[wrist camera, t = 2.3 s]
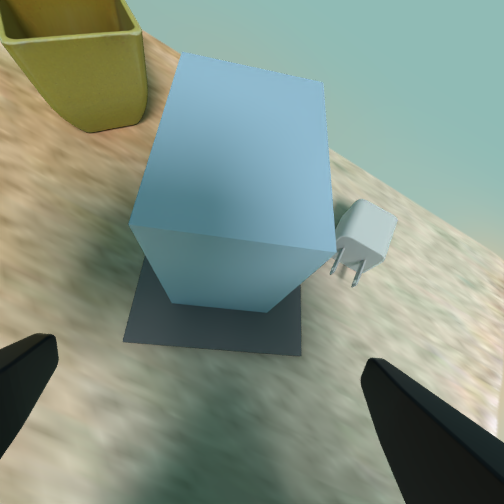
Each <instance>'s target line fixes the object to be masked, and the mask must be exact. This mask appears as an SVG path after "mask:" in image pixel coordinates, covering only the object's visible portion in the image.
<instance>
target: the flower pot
mask: <svg viewBox="0 0 504 504" xmlns="http://www.w3.org/2000/svg"><path fill="white" fill-rule="evenodd" d="M0 41H1V43H2V44H3V46H4V47H5V48H6V50H7V51H8V52H9V54H10V55H11V56H12V58H13V59H14V60H15V62H16V63H17V64H18V66H19V67H20V68H21V70H22V71H23V72H24V73H25V75H26V76H27V77H28V79H29V80H30V81H31V83H32V84H33V85H34V86H35V88H36V89H37V90H38V92H39V93H40V94H41V96H42V97H43V98H44V99H45V101H46V102H47V103H48V104H49V105H50V107H51V108H52V109H53V110H54V111H56V112H57V113H58V114H59V115H60V116H61V117H62V118H64V119H65V120H66V121H68V122H69V123H70V124H72V125H74V126H75V127H77V128H79V129H81V130H83V131H85V132H89V133H91V132H97V131H102V130H107V129H112V128H118V127H123V126H129V125H134V124H137V123H138V122H139V121H140V119H141V117H142V116H143V113H144V111H145V108H146V104H147V97H148V87H147V76H146V65H145V56H144V46H143V37H142V29H141V27H140V25H139V24H138V22H137V20H136V18H135V17H134V15H133V13H132V12H131V10H130V8H129V7H128V5H127V3H126V1H125V0H0Z"/></svg>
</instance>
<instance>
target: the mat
mask: <svg viewBox="0 0 504 504" xmlns="http://www.w3.org/2000/svg"><path fill="white" fill-rule="evenodd" d="M122 342H129V343H141V344H153V345H166V346H178V347H191V348H203V349H215V350H228V351H240V352H252V353H265V354H277V355H290V356H301V290H300V285H299V286H297V287H296V288H295V289H294V290H293V291H292V292H290V293H289V294H288V295H287V296H286V297H285V298H284V299H282V300H281V301H280V302H279V303H278V304H277V305H275V306H274V307H273V308H272V309H271V310H270V311H268V312H267V313H264V312H254V311H244V310H234V309H224V308H214V307H205V306H195V305H185V304H175V303H172V302H171V301H170V299H169V297H168V295H167V293H166V292H165V290H164V288H163V286H162V284H161V283H160V281H159V279H158V277H157V275H156V274H155V272H154V270H153V268H152V266H151V265H150V263H149V261H148V259H147V257H146V256H145V258H144V262H143V266H142V269H141V273H140V277H139V281H138V285H137V288H136V292H135V296H134V300H133V303H132V307H131V311H130V315H129V319H128V322H127V326H126V330H125V334H124V338H123V341H122Z"/></svg>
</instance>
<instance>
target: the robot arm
mask: <svg viewBox="0 0 504 504" xmlns="http://www.w3.org/2000/svg"><path fill="white" fill-rule="evenodd" d="M58 360H59V357H58V349H57V342H56V337H55V336H54V335H52V334H43V333H36V334H33V335H31V336H29V337H26V338H24V339H22V340H20V341H18V342H15V343H13V344H11V345H9V346H6V347H4V348H2V349H0V459H1V457H2V456H3V454H4V453H5V452H6V450H7V449H8V447H9V446H10V444H11V443H12V441H13V440H14V438H15V437H16V435H17V434H18V432H19V431H20V429H21V428H22V426H23V425H24V423H25V421H26V420H27V418H28V416H29V415H30V413H31V411H32V409H33V408H34V406H35V404H36V402H37V401H38V399H39V397H40V395H41V394H42V392H43V390H44V388H45V387H46V385H47V383H48V381H49V380H50V378H51V376H52V374H53V373H54V371H55V369H56V367H57V365H58ZM361 387H362V390H363V393H364V396H365V399H366V402H367V405H368V408H369V411H370V414H371V418H372V421H373V424H374V427H375V430H376V433H377V436H378V438H379V441H380V444H381V446H382V449H383V451H384V453H385V456H386V458H387V461H388V463H389V465H390V468H391V470H392V472H393V475H394V477H395V479H396V482H397V484H398V487H399V489H400V491H401V494H402V496H403V498H404V501H405V503H406V504H504V443H503V442H502V441H500V440H499V439H498V438H496V437H495V436H493V435H492V434H490V433H489V432H488V431H486V430H485V429H483V428H482V427H480V426H479V425H478V424H476V423H475V422H473V421H472V420H470V419H469V418H468V417H466V416H465V415H463V414H462V413H460V412H459V411H458V410H456V409H455V408H453V407H452V406H450V405H449V404H448V403H446V402H445V401H443V400H442V399H440V398H439V397H438V396H436V395H435V394H433V393H432V392H430V391H429V390H428V389H426V388H425V387H423V386H422V385H420V384H419V383H418V382H416V381H415V380H413V379H412V378H410V377H409V376H408V375H406V374H405V373H403V372H402V371H400V370H399V369H398V368H396V367H395V366H393V365H392V364H390V363H389V362H388V361H386V360H385V359H382V358H370V359H368V361H367V363H366V366H365V368H364V371H363V373H362V376H361Z"/></svg>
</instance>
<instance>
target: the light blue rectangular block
mask: <svg viewBox="0 0 504 504" xmlns="http://www.w3.org/2000/svg"><path fill="white" fill-rule="evenodd" d="M128 225H129V227H130V229H131V230H132V232H133V234H134V236H135V238H136V239H137V241H138V243H139V245H140V247H141V248H142V250H143V252H144V254H145V256H146V257H147V259H148V261H149V263H150V265H151V266H152V268H153V270H154V272H155V274H156V275H157V277H158V279H159V281H160V283H161V284H162V286H163V288H164V290H165V292H166V293H167V295H168V297H169V299H170V301H171V302H172V303H175V304H185V305H195V306H205V307H214V308H224V309H234V310H244V311H254V312H264V313H267V312H268V311H270V310H271V309H272V308H273V307H274V306H275V305H277V304H278V303H279V302H280V301H281V300H282V299H284V298H285V297H286V296H287V295H288V294H289V293H290V292H292V291H293V290H294V289H295V288H296V287H297V286H299V285H300V284H301V283H302V282H303V281H304V280H306V279H307V278H308V277H309V276H310V275H311V274H312V273H314V272H315V271H316V270H317V269H318V268H319V267H321V266H322V265H323V264H324V263H325V262H326V261H328V260H329V259H330V258H331V257H332V256H333V255H334V254H336V253H337V250H336V237H335V225H334V212H333V199H332V187H331V174H330V162H329V149H328V137H327V124H326V112H325V99H324V87H323V82H319V81H314V80H310V79H305V78H301V77H296V76H291V75H287V74H282V73H278V72H273V71H268V70H264V69H259V68H255V67H250V66H246V65H241V64H237V63H232V62H227V61H222V60H218V59H214V58H209V57H204V56H200V55H195V54H191V53H186V52H182V54H181V57H180V60H179V63H178V66H177V70H176V73H175V76H174V79H173V82H172V86H171V89H170V92H169V95H168V98H167V102H166V105H165V108H164V111H163V115H162V118H161V121H160V124H159V127H158V131H157V134H156V137H155V140H154V143H153V147H152V150H151V153H150V156H149V159H148V163H147V166H146V169H145V172H144V176H143V179H142V182H141V185H140V188H139V192H138V195H137V198H136V201H135V204H134V208H133V211H132V214H131V217H130V220H129V224H128Z"/></svg>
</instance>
